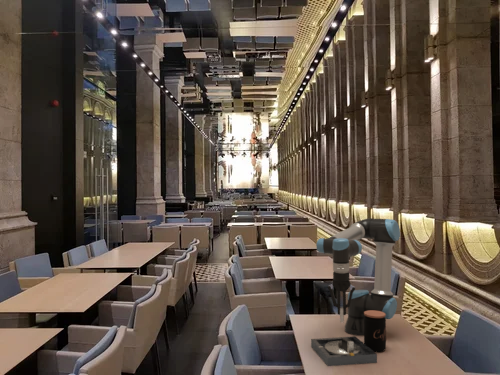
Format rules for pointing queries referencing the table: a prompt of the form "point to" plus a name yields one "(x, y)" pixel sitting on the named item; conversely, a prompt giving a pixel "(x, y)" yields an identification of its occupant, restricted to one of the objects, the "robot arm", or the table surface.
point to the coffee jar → (375, 330)
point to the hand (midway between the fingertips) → (342, 321)
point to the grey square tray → (347, 359)
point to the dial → (342, 347)
